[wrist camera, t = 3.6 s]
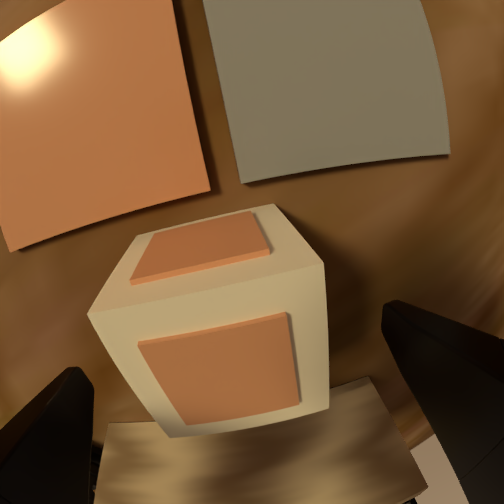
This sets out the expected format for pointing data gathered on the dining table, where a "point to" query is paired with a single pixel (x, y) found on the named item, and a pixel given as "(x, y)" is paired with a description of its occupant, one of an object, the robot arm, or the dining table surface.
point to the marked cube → (219, 323)
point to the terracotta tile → (94, 118)
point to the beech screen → (267, 460)
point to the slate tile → (326, 83)
